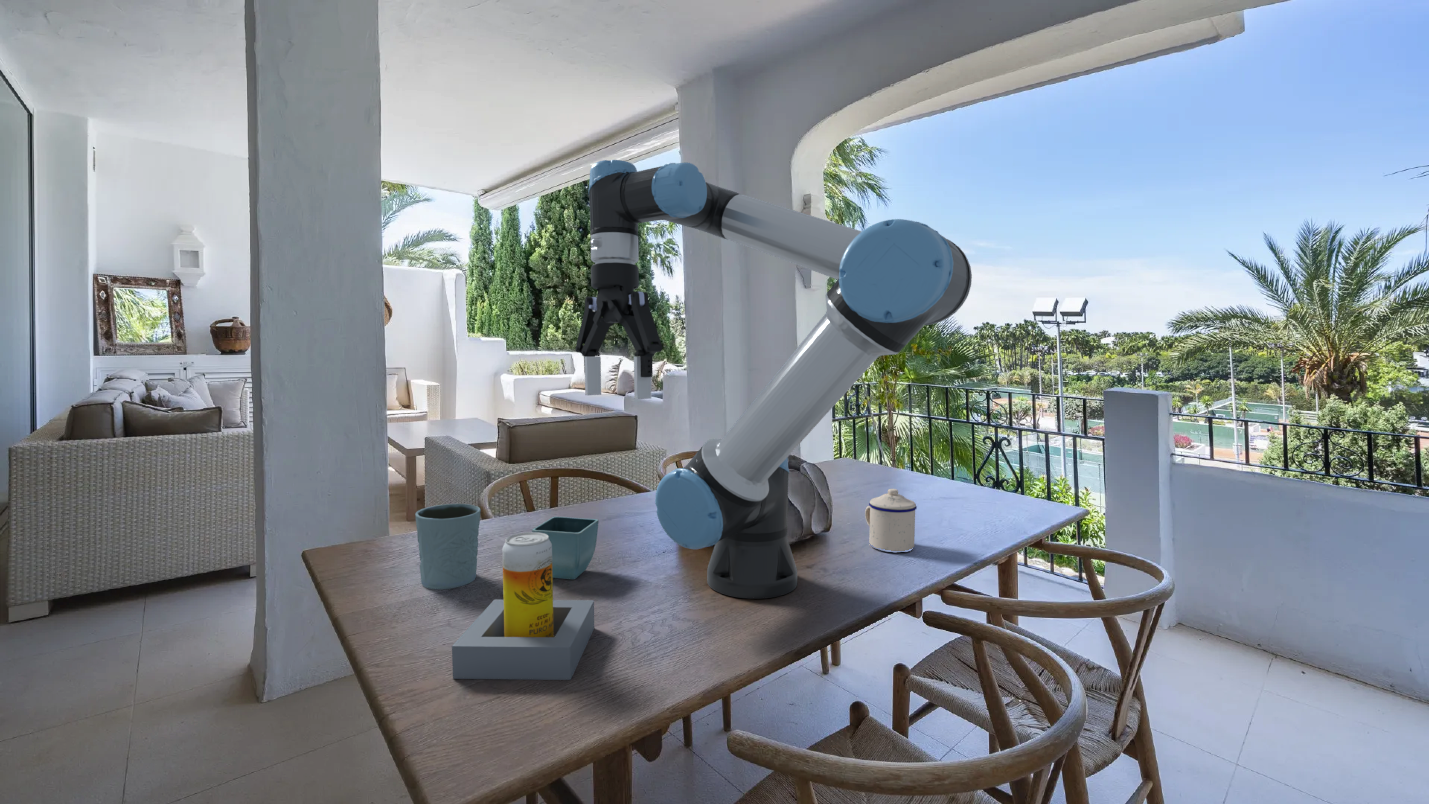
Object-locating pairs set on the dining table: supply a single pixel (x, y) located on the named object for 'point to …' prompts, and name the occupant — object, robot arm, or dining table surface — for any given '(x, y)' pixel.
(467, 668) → the sleeve
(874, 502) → the teacup with lid
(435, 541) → the light blue cup
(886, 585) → the dining table surface
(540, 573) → the beer can
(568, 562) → the flower pot
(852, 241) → the robot arm
